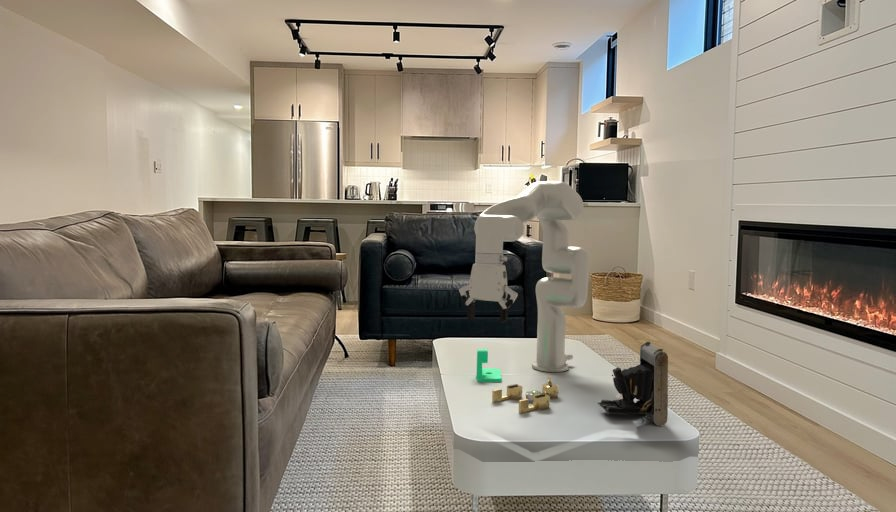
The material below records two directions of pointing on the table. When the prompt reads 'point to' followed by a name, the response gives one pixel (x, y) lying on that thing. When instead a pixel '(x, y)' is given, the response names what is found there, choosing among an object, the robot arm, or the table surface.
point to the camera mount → (486, 373)
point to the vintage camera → (642, 387)
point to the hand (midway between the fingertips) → (486, 320)
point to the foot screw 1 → (512, 393)
